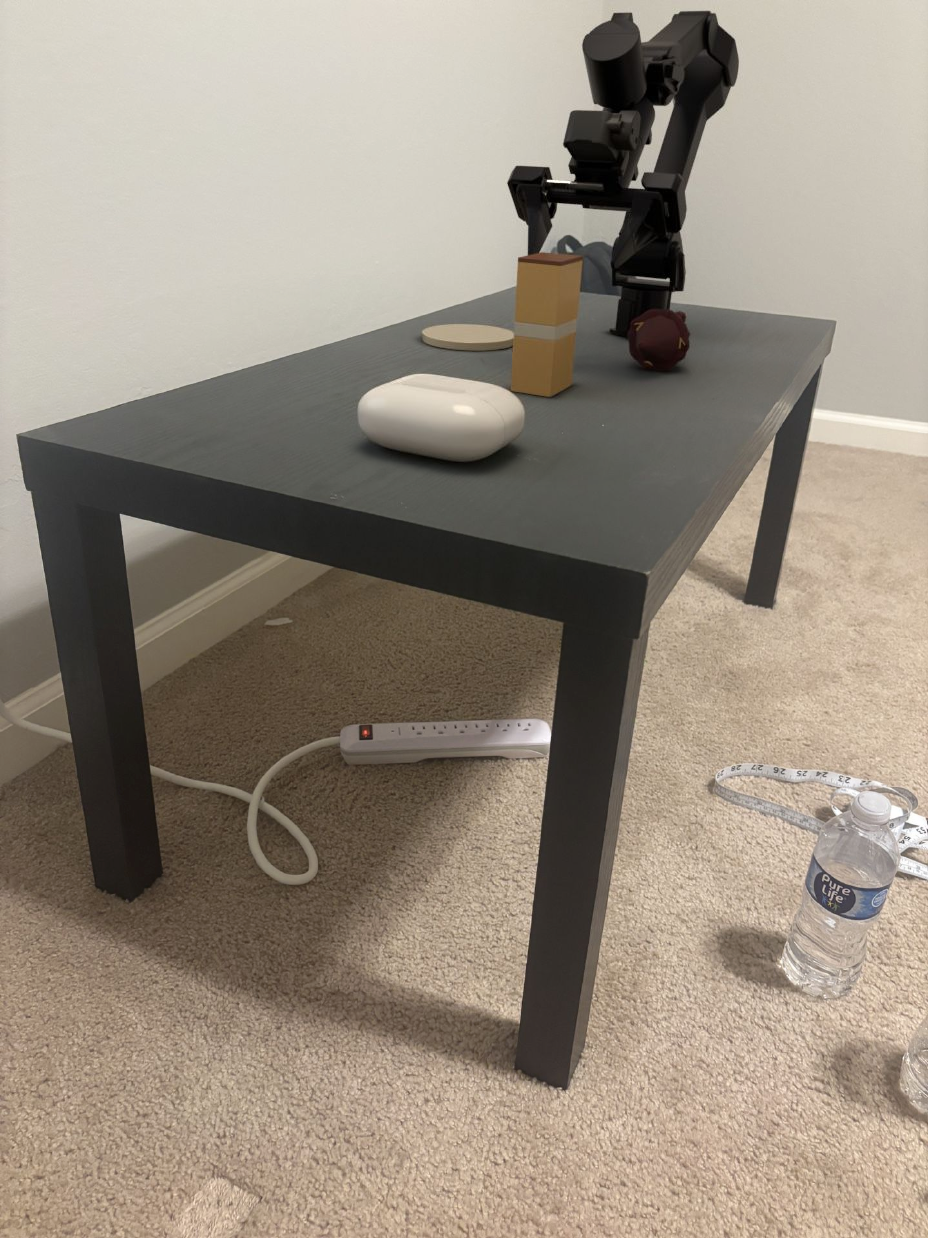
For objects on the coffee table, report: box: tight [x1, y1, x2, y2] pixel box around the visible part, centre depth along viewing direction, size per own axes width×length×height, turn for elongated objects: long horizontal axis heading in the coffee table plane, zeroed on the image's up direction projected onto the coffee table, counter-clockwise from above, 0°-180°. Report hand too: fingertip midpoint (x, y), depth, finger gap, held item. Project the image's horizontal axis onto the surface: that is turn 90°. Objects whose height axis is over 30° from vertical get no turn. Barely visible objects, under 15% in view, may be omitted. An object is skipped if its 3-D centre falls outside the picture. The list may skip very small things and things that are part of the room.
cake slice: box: [510, 251, 584, 398], centre depth 92 cm, size 6×4×13 cm
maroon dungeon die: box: [627, 309, 691, 372], centre depth 104 cm, size 7×7×15 cm
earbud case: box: [356, 373, 526, 463], centre depth 75 cm, size 10×13×5 cm
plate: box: [421, 323, 514, 352], centre depth 116 cm, size 12×12×1 cm
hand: (570, 262), depth 94 cm, fingers open, 9 cm apart
